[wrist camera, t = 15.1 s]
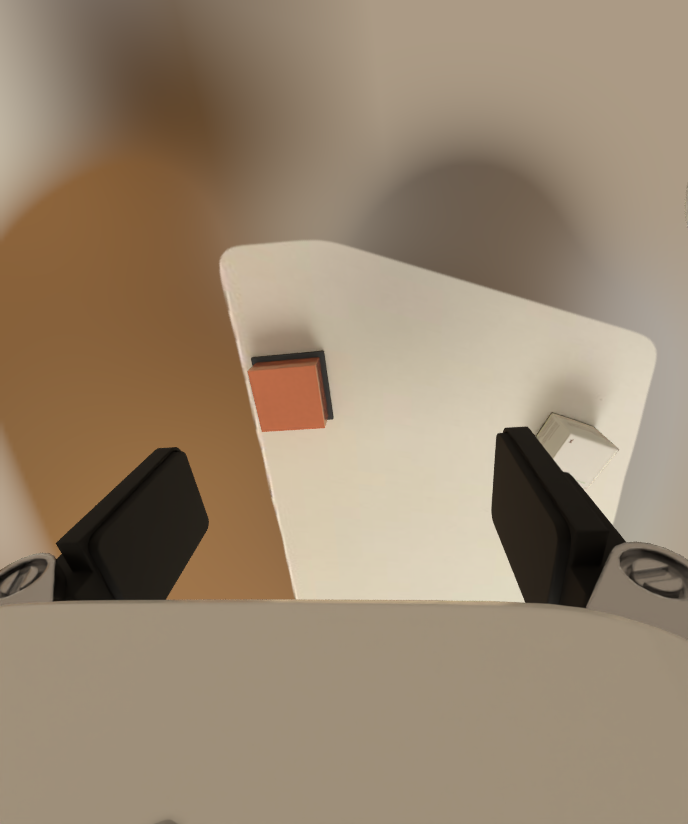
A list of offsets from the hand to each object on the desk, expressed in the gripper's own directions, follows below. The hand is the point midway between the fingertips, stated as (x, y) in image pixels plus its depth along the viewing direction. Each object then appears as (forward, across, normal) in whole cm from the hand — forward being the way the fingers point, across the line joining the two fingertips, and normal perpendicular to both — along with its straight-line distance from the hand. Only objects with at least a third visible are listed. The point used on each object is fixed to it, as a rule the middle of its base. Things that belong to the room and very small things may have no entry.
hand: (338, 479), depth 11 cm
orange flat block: (+30, +10, +8) cm, 33 cm away
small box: (+31, -21, +17) cm, 41 cm away
